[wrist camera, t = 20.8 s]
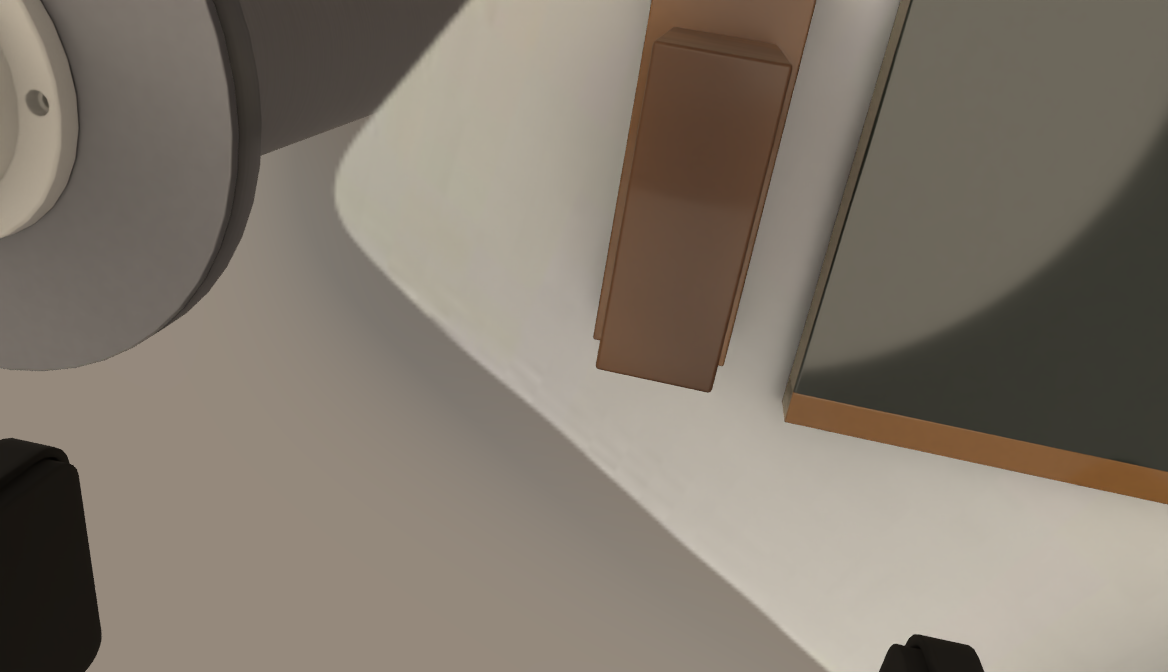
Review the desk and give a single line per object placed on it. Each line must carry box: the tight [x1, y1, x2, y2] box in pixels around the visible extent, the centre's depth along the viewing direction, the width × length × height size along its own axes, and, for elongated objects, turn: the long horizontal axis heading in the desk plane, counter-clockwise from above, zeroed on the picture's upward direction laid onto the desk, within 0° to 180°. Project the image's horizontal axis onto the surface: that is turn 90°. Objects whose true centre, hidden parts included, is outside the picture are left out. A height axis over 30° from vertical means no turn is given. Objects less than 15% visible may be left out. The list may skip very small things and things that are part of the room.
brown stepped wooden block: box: [593, 0, 816, 392], centre depth 22 cm, size 4×12×8 cm, turn 171°
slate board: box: [782, 0, 1168, 504], centre depth 23 cm, size 16×22×2 cm
